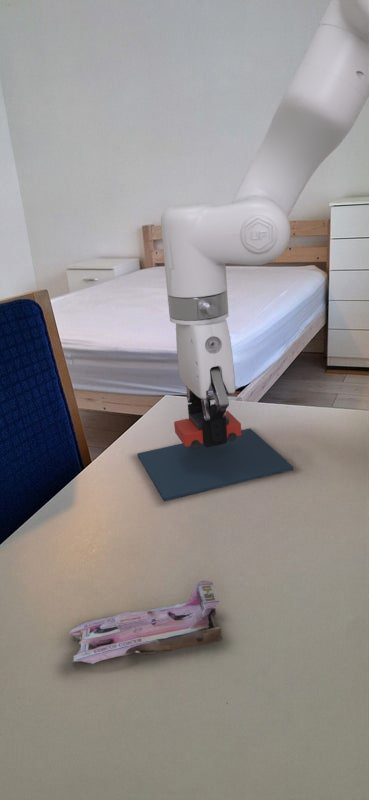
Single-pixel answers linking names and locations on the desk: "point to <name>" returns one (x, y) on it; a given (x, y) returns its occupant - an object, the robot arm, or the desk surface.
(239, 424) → the red toy vehicle
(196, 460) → the mat
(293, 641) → the desk surface
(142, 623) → the toy boat
